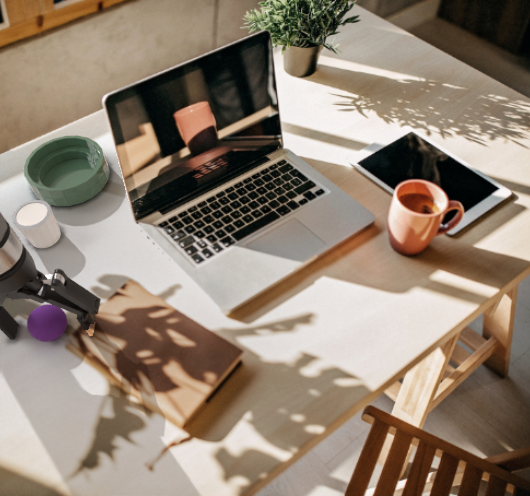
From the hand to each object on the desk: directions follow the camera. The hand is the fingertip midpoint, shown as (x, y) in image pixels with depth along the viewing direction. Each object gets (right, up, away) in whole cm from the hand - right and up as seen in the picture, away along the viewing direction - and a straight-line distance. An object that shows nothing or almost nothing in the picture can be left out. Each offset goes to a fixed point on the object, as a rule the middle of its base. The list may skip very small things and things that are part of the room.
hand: (53, 330), depth 83 cm
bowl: (-5, +28, +21) cm, 35 cm away
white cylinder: (-7, +16, +12) cm, 21 cm away
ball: (0, +2, -2) cm, 3 cm away
